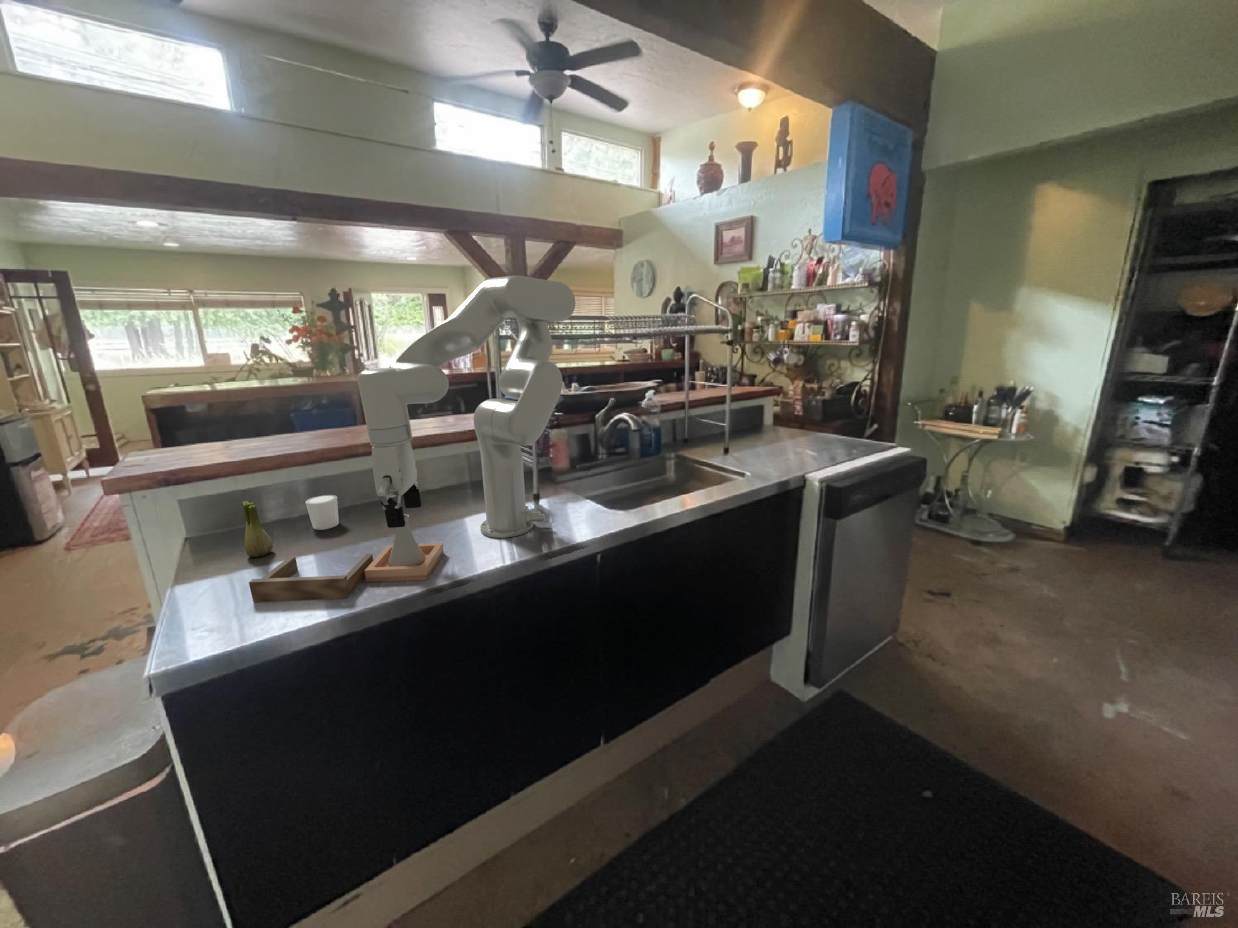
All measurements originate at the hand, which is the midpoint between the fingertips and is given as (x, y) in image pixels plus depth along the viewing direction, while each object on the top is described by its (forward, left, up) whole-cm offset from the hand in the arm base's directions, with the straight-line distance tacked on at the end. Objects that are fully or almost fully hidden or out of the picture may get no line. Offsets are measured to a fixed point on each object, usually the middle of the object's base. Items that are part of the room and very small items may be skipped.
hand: (405, 516), depth 100 cm
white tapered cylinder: (+29, -24, -11) cm, 40 cm away
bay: (+16, +7, -11) cm, 20 cm away
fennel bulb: (+35, -8, -11) cm, 38 cm away
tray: (+1, +1, -11) cm, 11 cm away
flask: (+1, +1, -10) cm, 10 cm away
